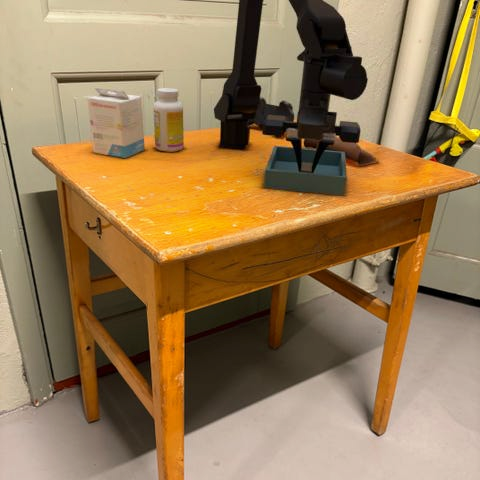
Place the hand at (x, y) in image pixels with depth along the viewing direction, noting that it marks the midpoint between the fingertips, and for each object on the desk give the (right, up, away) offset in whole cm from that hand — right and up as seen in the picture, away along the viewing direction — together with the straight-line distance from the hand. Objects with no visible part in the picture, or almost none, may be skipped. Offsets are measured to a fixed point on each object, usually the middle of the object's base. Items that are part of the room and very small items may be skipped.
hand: (306, 172), depth 107 cm
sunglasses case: (+11, +9, +18) cm, 23 cm away
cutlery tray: (0, -1, +2) cm, 2 cm away
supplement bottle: (-30, +10, +15) cm, 35 cm away
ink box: (-41, +8, +11) cm, 43 cm away
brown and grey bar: (0, 0, +2) cm, 2 cm away
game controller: (-7, +21, +35) cm, 42 cm away
